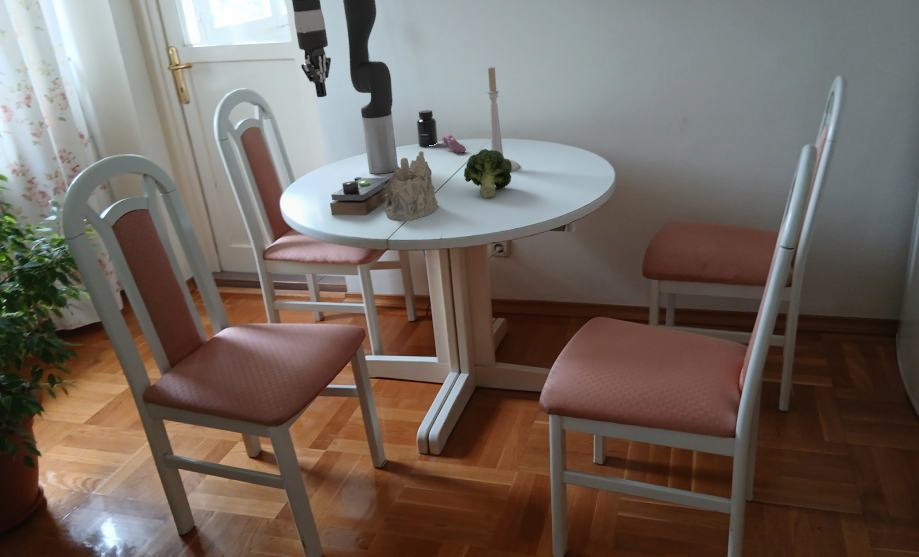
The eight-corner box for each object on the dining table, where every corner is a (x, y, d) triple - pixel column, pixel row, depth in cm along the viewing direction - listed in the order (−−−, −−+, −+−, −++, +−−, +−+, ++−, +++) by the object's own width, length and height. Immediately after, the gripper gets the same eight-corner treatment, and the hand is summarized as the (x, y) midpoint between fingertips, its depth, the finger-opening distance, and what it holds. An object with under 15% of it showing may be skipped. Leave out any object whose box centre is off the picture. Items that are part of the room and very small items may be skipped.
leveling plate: (362, 183, 208) (360, 169, 207) (391, 183, 205) (389, 169, 204) (332, 200, 193) (330, 185, 191) (363, 200, 190) (361, 185, 188)
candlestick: (503, 175, 216) (496, 69, 205) (468, 171, 223) (460, 69, 212) (527, 164, 225) (522, 62, 214) (493, 161, 233) (486, 63, 221)
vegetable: (454, 193, 194) (458, 156, 204) (489, 218, 200) (491, 181, 210) (486, 168, 187) (488, 131, 197) (521, 195, 193) (522, 158, 203)
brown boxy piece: (359, 192, 212) (357, 177, 210) (401, 193, 207) (399, 176, 206) (326, 214, 194) (323, 197, 192) (372, 215, 190) (369, 197, 188)
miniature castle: (404, 198, 202) (397, 144, 195) (450, 207, 192) (444, 151, 186) (363, 217, 191) (354, 161, 185) (410, 228, 182) (402, 170, 175)
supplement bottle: (421, 148, 260) (417, 114, 256) (417, 145, 266) (413, 111, 262) (440, 145, 262) (437, 111, 257) (435, 142, 268) (432, 108, 264)
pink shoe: (448, 153, 256) (437, 137, 253) (458, 146, 256) (448, 129, 253) (456, 159, 247) (446, 141, 244) (467, 151, 248) (457, 133, 244)
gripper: (309, 27, 199) (320, 92, 206) (285, 33, 188) (297, 102, 195) (334, 25, 197) (345, 91, 204) (311, 30, 185) (323, 100, 192)
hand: (322, 96), depth 199 cm, fingers closed
